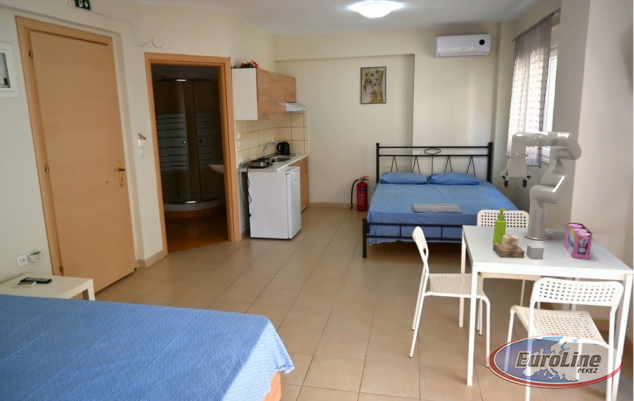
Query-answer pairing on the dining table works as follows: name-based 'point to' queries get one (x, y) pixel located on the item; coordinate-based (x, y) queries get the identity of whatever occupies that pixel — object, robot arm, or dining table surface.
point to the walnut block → (508, 252)
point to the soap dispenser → (499, 227)
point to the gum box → (578, 240)
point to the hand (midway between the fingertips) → (515, 187)
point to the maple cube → (510, 242)
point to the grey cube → (535, 251)
